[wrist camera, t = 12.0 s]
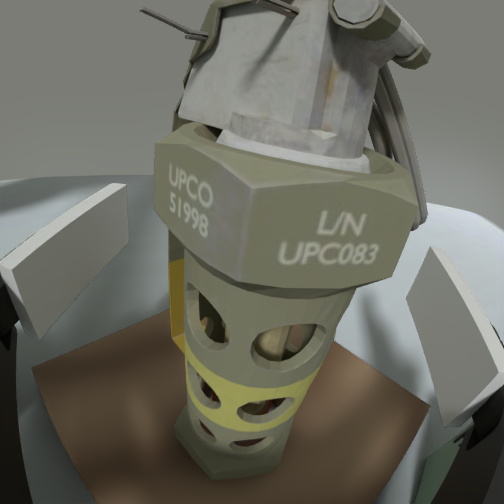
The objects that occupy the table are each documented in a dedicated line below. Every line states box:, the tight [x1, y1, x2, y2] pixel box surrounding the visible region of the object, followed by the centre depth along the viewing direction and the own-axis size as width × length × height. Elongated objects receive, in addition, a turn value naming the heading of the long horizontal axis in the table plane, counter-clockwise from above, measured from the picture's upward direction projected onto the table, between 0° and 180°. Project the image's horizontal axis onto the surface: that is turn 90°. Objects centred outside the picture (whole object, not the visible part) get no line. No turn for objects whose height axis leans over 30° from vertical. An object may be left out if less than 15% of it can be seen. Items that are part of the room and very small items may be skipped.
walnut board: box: [32, 309, 430, 504], centre depth 13 cm, size 16×16×2 cm
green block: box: [414, 422, 474, 504], centre depth 7 cm, size 5×5×5 cm
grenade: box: [139, 0, 431, 480], centre depth 9 cm, size 7×7×15 cm
